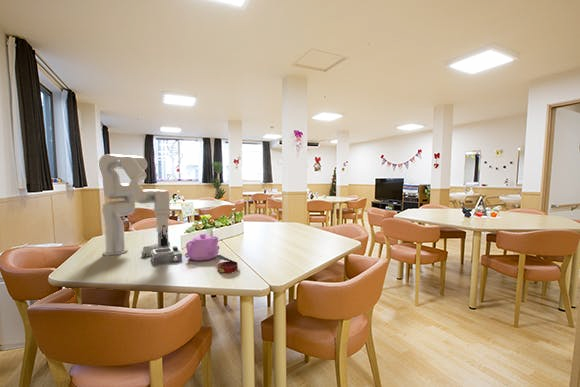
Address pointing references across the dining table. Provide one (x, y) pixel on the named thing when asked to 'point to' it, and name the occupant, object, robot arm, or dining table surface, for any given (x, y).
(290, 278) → the dining table surface
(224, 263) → the canned food
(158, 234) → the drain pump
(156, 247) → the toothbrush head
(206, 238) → the teapot
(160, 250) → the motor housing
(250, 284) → the dining table surface
